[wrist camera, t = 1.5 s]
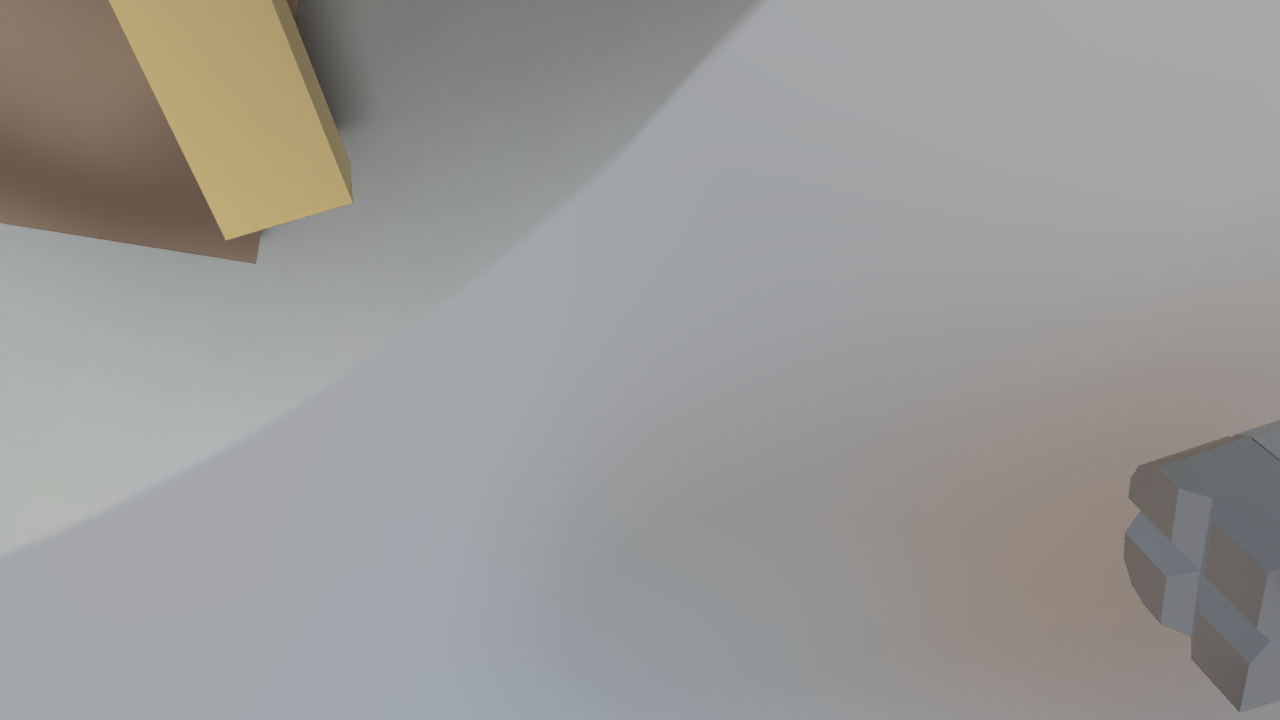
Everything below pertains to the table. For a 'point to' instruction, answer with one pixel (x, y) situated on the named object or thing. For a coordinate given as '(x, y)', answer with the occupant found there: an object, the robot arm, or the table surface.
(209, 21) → the link
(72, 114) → the board
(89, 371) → the table surface
